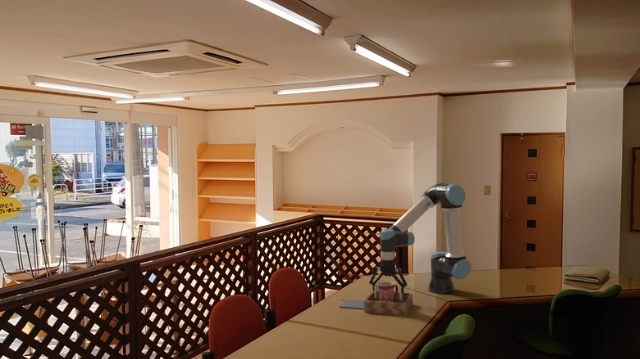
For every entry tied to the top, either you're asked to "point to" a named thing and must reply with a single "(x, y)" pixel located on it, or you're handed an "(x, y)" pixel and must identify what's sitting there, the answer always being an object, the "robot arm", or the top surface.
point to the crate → (389, 304)
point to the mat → (353, 304)
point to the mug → (387, 291)
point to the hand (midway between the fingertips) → (388, 298)
